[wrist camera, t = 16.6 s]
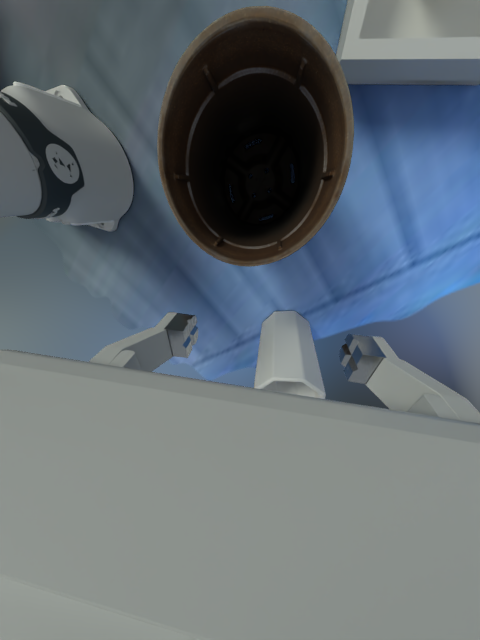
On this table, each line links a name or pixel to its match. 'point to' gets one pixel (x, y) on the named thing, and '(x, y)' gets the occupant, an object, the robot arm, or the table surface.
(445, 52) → the light grey bin
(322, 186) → the plant pot
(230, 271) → the table surface
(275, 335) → the cup
